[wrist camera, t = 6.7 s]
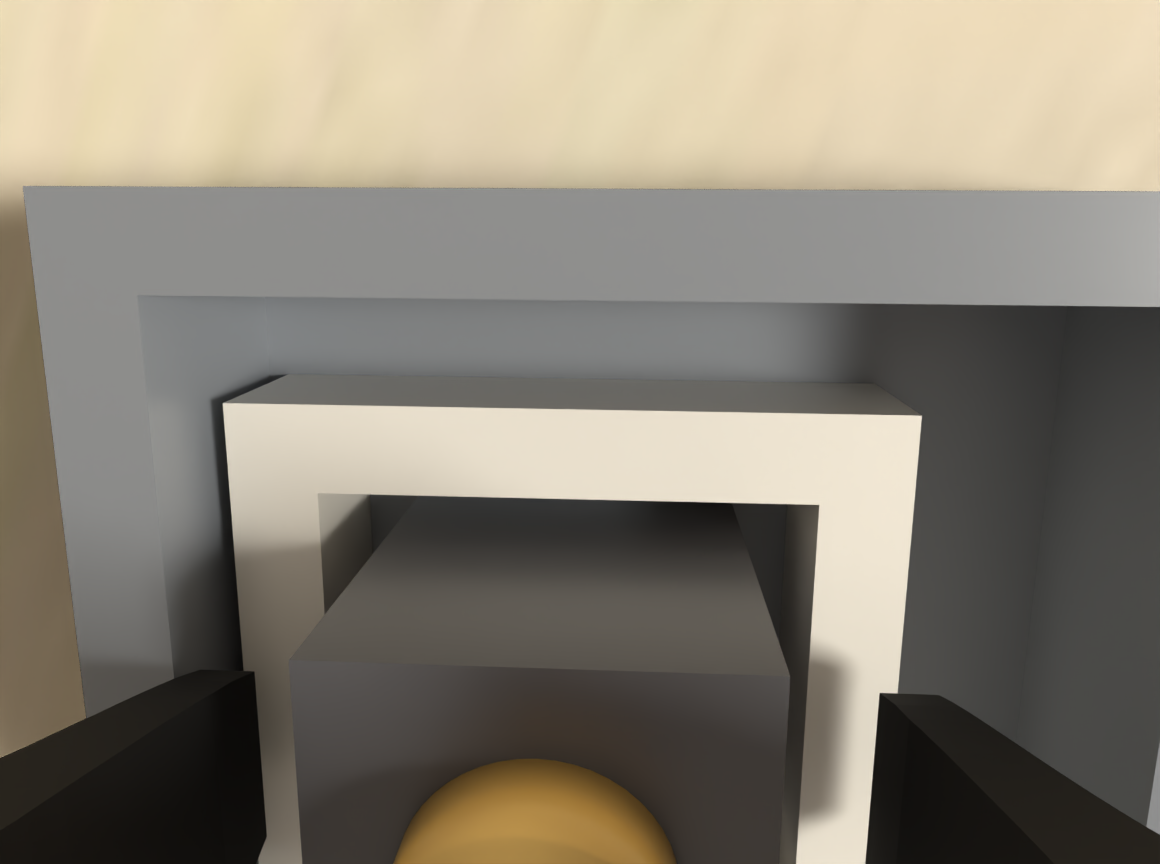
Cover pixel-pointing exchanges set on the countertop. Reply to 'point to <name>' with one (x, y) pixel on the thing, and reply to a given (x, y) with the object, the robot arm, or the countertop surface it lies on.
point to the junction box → (632, 435)
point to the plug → (545, 691)
